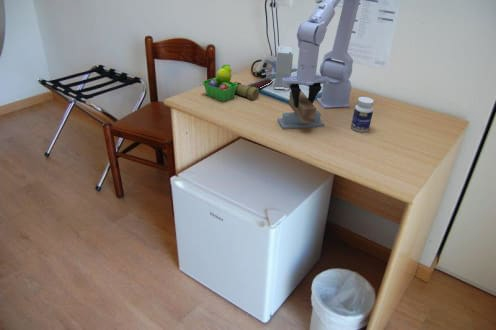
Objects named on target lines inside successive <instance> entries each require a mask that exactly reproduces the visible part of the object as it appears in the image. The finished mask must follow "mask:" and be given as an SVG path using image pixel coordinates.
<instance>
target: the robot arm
mask: <svg viewBox="0 0 496 330" xmlns="http://www.w3.org/2000/svg"><path fill="white" fill-rule="evenodd" d="M341 1H342V0H324V1H321V2H320V3H318V4H317V6H316V7H315V8H314V10H313V12H312V13H311V14H310V16H309V17H308V19H307V21H306V20H305V21H303V22H301V23H300V24H299V26H298V28H297V33H296V39H297V47H298V48H299V51H298V60H297V71H296V75H293V76H291V77H287V78H282V85H283V86H287V85H289V90H290V92H292V96H293V101H294V106H295V108H298V103H299V95H300V92H301V91H302V89H301V88H300V86H301V85H306V86H308V96H307V98H308V99H309V100H310V101H311V103H312V104H313V105H314V101H315V99H316V100H317V101H318V103H319V104H320V105H321V106H322V107H323V109H333V108H348V107H350V103H349V101H350V97H351V92H352V84H351V81H350V78H351V76H352V73H353V64H354V60H353V58H352V56H351V55H350V54H349V53H348V51H349V45H350V41H351V38H352V33H353V29H354V26H355V21H356V17H357V13H358V9H359V5H360V2H361V0H343V3H342V4H343V5H342V7H341V11H340V12H341V13H340V15H339V21H338V25H337V29H336V33H335V38H334V41H333V46H332V49H331V50H330V51H329V52H327V53H325V54H324V56H323V58H322V61H321V63H320V67H319V74H320V75H317V68H318V60H319V53H320V46H321V44H322V43H323V41H324V39H325V36H326V32H327V30H328V28H327V27H328V26H329V24H330V23H331V21H332V20H333V18H334V16H335V15H336V11H335V8H336V7H337V6H338V4H339V3H340V2H341ZM321 84H322V85H321ZM320 91H321V97H317V96H318V94H319V93H320Z"/></svg>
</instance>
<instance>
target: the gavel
mask: <svg viewBox="0 0 496 330" xmlns="http://www.w3.org/2000/svg"><path fill="white" fill-rule="evenodd" d="M272 80H273V79H271V78H266V79H264V80H261V81H258V82H256V83H252V84H250V85H245V84H242V83H241V82H238V81H234V82H233V83H235V84H237V85H238V86H237V88H236V91H235V94H234V96H236V95H238V96H241V97H244V98H247V99H248V100H250V101H255V100H257V99H258V98H259V95H260V89H258V88H260V87H262V86H264V85H266V84H268V83H270V82H271V81H272Z"/></svg>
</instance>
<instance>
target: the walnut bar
mask: <svg viewBox="0 0 496 330" xmlns="http://www.w3.org/2000/svg"><path fill="white" fill-rule="evenodd" d="M288 100H289V101H288V105H289V106H290V108H291V109H292V110H293V112H295V113H296V115H297V116H298V118H299V119H300V120H301V122H302V123H308V122H315V116H316V111H317V107H316V106H315V105H314V103H313V104H312V103H311V101H310V100H309V99H308V96H307V95H306V94H305V93H304V92H303V91H302V90H301V92H300V95H299V103H298V108H295V106H294V101H293V96H292V92H291V91H290V92H289V99H288Z"/></svg>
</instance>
